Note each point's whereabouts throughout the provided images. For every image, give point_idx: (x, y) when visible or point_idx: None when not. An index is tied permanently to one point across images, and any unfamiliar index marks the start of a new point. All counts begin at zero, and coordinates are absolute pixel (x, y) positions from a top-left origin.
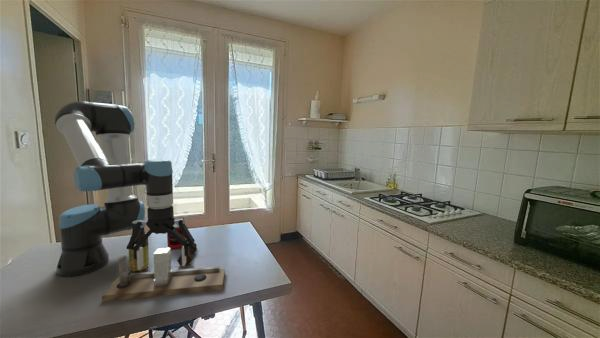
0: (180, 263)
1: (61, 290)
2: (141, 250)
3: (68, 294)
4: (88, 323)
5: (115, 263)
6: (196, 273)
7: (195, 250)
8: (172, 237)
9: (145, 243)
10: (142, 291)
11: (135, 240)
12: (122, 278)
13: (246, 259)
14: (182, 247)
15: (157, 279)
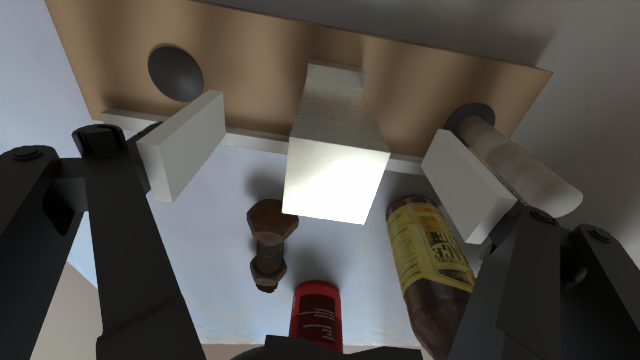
0: None
1: (619, 177)
2: (469, 216)
3: (610, 150)
4: None
5: (467, 260)
6: None
7: (253, 260)
8: (324, 321)
9: (419, 296)
10: (406, 47)
11: (568, 299)
12: (492, 129)
13: None
14: (160, 162)
15: (350, 80)
